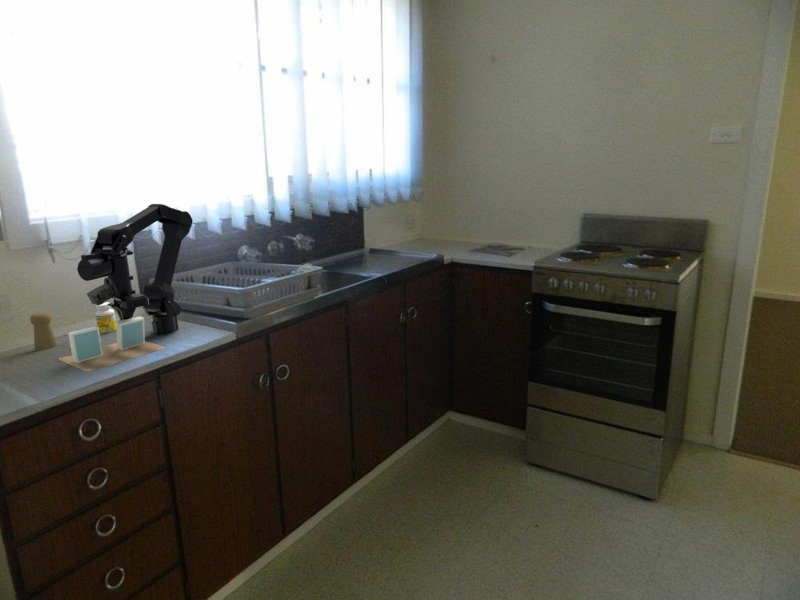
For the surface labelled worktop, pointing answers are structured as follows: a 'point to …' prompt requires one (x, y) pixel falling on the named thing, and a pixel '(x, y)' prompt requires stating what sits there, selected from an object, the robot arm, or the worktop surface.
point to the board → (113, 356)
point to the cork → (43, 331)
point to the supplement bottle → (105, 318)
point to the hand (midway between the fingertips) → (126, 327)
